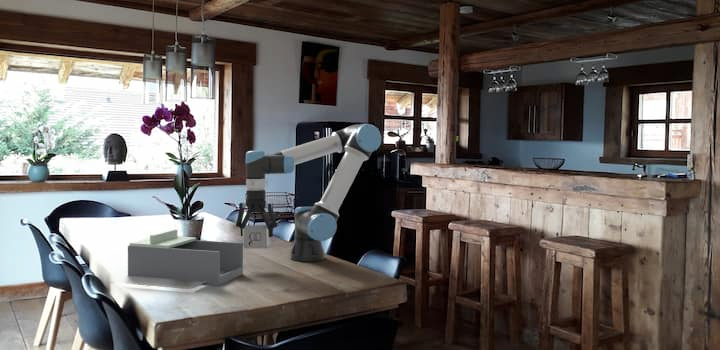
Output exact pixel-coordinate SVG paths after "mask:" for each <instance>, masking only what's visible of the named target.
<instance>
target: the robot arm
mask: <svg viewBox="0 0 720 350" xmlns="http://www.w3.org/2000/svg"><path fill="white" fill-rule="evenodd" d="M381 143H382V135H381V132H380V130H379V129H378V128H377V126H375V125H373V124H372V123H371V124H370V123H360V124H359V123H358V124H357V123H356V124H352V125H349V126H347V127H345V128H342V129H340V130H336V131H333V132H332V134H331V135H329V136H326V137H325V136H324V137H321V138H319V139H316V140H311V141H309V142H305V143H302V144H300V145H296V146H293V147H290V148H286V149H283V150H280V151H277V152H274V153H268V154H265V153H266V152H265V151H264V150H249V151H246V153H245V184H246V185H245V186H246V187H245V188H246V191H245V192H246V193H245V194H246V195H245V196H246V202H244V201H243V202H240V203H239V204H238V206H239V210H238V214H237V218H236V223H235V226H236V228H239V229H240V237H242V243H243V246H244V234H245V226H246V225H248V222H249V220H250V218H251V216H252V214H253V213H257V214H260V215H261V217H262V220H263V222H264V223H265V225H267V227H268V229H267V230H266V240H267V247H268V246H271V245H272V238H273V236H274V233H273V232H274V229H275V228H277V227H278V222H277V219H276V216H275V211H274V203H273V202H266V190H265V189H266V175H282V174H283V175H286V174H292V173H294V171H295V166H296V165H298V164H299V165H300V164H302V163H305V162H308V161H312V160H314V159H317V158H321V157H324V156H328V155H330V154H333V153H339V154H341V153H344V155H343V156H342V158H341V160H340V162H339V164H338V166H337V168H336V170H335V172H334V173H333V176H332V177H331V179H330V181H329V182H328V185H327V187H326V189H325V191H324V193H323V194H322V197H321V199H320V201H317V202H315V203H314V204H313V206H298V207H296V208H295V210H294V241H293V245H292V248H291V251H290V254H289V255H290V260H292V261H298V262H319V261H323V260H325V256H326V254H325V251H324V247H323V243H322V242H324V241H328V240H330V239H331V238H332V237H334V235H335V234H336V232H337V228H338V224H337V222H338V219H339V217H340V214H339V210H340V207H341V206H342V204H343V201H344V199H345V198H346V196H347V194H348V192H349V190H350V188H351V186H352V185H353V183H354V180H355V178H356V176H357V174H358V172H359V170H360V168H361V167H362V164H363V162H365V161H368V160H369V159H370V157H371V155H372V153H373V152H375V151H376V150H377V149H379V147H380V146H381ZM245 208H247V211H246V213H245V210H246V209H245ZM265 208H266V209H267V210H266V209H265ZM267 212H268V214H267ZM244 213H245V216H244Z"/></svg>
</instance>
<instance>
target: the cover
mask: <svg viewBox="0 0 720 350" xmlns="http://www.w3.org/2000/svg"><path fill="white" fill-rule="evenodd" d="M195 240H197V237H194V236H193V237H191V236H184V237H178V229H170V230H166V231H162V232H159V233H155V234H151V235H149V238H145V239H141V240H137V241H133V242H130V243H129V245H130V246H139V247H154V248H168V249H169V248H172V247H175V246H179V245H182V244H185V243H189V242H192V241H195Z"/></svg>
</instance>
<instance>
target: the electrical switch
mask: <svg viewBox="0 0 720 350" xmlns="http://www.w3.org/2000/svg"><path fill="white" fill-rule="evenodd" d="M267 229H268V227H267V225H266V224H261V225H260V224H259V225H256V224H255V225H253V224H252V225H251V224H250V225H248V224H246V226H245V234H244V245H243V249H267V248H268V246H267V240H266V230H267Z"/></svg>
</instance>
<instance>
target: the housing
mask: <svg viewBox="0 0 720 350" xmlns="http://www.w3.org/2000/svg"><path fill="white" fill-rule="evenodd" d="M221 271H225V273H222V272H221ZM243 271H244V245H243V242H231V241H214V240H199V239H196V240H195V241H192V242H189V243H185V244H182V245H179V246H175V247H172V248H169V249H168V248H154V247H139V246H130V244H129V245H127V276H129V277H130V276H131V277H132V276H133V277H142V278H143V277H144V278H153V279H154V278H156V279H166V280H167V279H168V280H178V281H179V280H180V281H193V282H194V281H195V282H203V283H201V285H204V286H205V285H206V286H213V287H215V286H216V287H219V286H221V285H224V284H226V283H228V282H230V281H232V280H234V279H236V278H238V277H240V276H242V275H243V274H244V272H243Z"/></svg>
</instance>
